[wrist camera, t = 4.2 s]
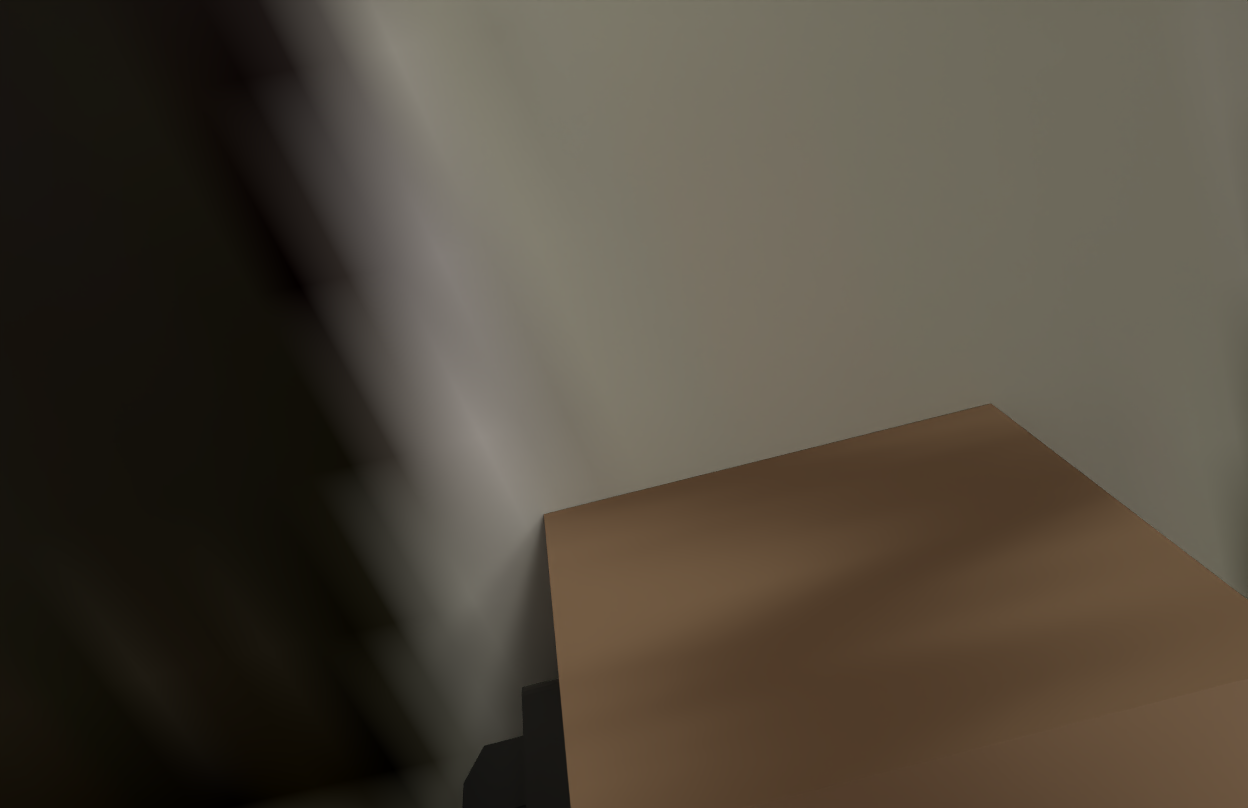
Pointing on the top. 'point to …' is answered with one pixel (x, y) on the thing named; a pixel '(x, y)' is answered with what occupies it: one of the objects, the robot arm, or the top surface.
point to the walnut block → (894, 636)
